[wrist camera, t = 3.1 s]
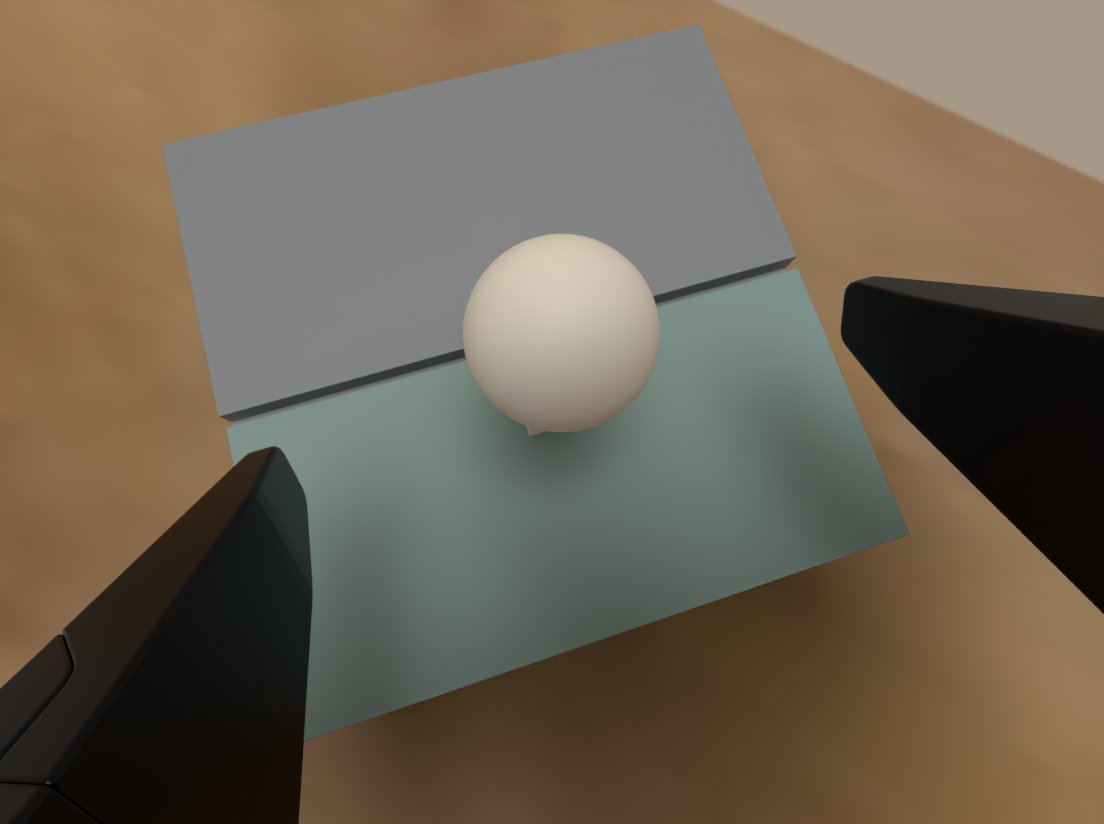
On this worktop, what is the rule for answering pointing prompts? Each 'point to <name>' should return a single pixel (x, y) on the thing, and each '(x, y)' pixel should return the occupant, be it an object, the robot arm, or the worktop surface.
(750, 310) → the near flap
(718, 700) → the worktop surface
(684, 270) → the carton
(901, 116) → the worktop surface
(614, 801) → the worktop surface
